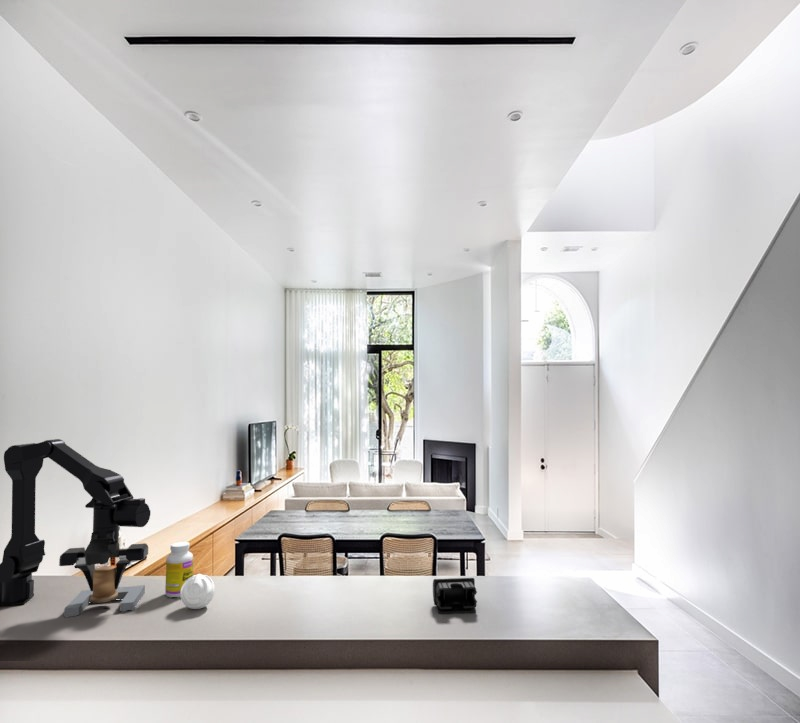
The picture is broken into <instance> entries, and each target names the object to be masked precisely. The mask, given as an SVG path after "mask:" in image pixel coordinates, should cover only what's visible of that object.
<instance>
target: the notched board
mask: <svg viewBox="0 0 800 723" xmlns="http://www.w3.org/2000/svg"><path fill="white" fill-rule="evenodd" d="M145 589H146V585H145V584H144V585H143V584H142V585H132V586H131V585H129V586H122V587H121V586H118V588H117V589H116V590H117V591H118V597H117V598H116V599H123V600H120V603H119V612H120V611H123V612H127V611H126V610H133V611H134V610H135V609H136V607H137V606H138V604H139V603H138V602H140V601H141V600H142V598H143V597H144V595H145V593H146V592H145V591H146V590H145ZM92 594H93V591H91V590H90V589H85V590H83V589H82V590H81V591H80V592H79V593H78V594H76V596H75V597H74V598H73V599H72V600H71V601H70V602H69V603H68V604H67V605H66V606H65V607H64V610H63V611H64V613H63V614H64V618H68V617H67V616H70V617H78V616H77V615H79V616H80V614H82V612H83V611H84V610H85V609H86V608H85V607H86V606H87V607H88V606H89V604H90V603H89V602H91V601H90V596H91V595H92ZM143 594H144V595H143ZM141 597H142V598H141ZM116 599H114V600H116ZM139 600H140V601H139ZM88 603H89V604H88ZM137 603H138V604H137ZM136 605H137V606H136ZM135 606H136V607H135ZM84 608H85V609H84ZM134 608H135V609H134ZM83 609H84V610H83Z"/></svg>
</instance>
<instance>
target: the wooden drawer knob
mask: <svg viewBox="0 0 800 723" xmlns="http://www.w3.org/2000/svg"><path fill="white" fill-rule="evenodd" d="M116 570H117V567H116V565H115V566H114V565H107V566H100V567H97V568H95V570H94V571H93V594H92V595H91V596H90V601H91V602H93V603H94V604H101V603H107V602H112V601H111V600H114V599H116V598H117V597H118V591H117V590H116V589H115V578H116ZM93 603H92V604H93Z"/></svg>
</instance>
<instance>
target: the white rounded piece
mask: <svg viewBox="0 0 800 723" xmlns="http://www.w3.org/2000/svg"><path fill="white" fill-rule="evenodd" d="M214 595H215V582H214V581H213V579H212V578H211V577H210V576H209V575H207V574H202V573H197V574H193V576H192V577H190V578H189V579H187V580H186V581H185V583H184V584H183V585H182V587H181V591H180V597H179V598H180V600H181V602H182V603H183V605H184V606H185V607H187V608H188V609H192V610H200V609H202V608H205V607H206V606H207V605H208V604H210V603H211V602H212V601H213V598H214Z"/></svg>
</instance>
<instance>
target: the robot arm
mask: <svg viewBox="0 0 800 723" xmlns="http://www.w3.org/2000/svg"><path fill="white" fill-rule="evenodd" d="M47 458H49V459H50V460H51V461H53V462H54V463H55V464H56V465H58V466H60V467H61V468H62V469H64V470H65V471H67V472H68V473H70V475H72V476H73V477H75V478H76V479H78V480H79V481H80V482H81V483H82V486H83V490H84V491H85V492H86V493H87V494H88V495H89V496H90V497H91V500H90V501H89V502H87V503H86V504H85V506H84V507H85V508H87V509H93V511H92V512H93V513H92V514H93V515H92V516H93V517H92V532H91V536H90V541H89V543H88V544H87V547H86V548H85V547H70V548H68V549H66V550H65V551H64V552H63V553H61V555H59V563H58V566H60V567H67V566H74V569H79V570H80V571H81V572H82V573H83V575H84V576H85V579H86V582H87V584H88V587H89V590H91V591H93V571H94V570H95V569H96V567H95V566H96V565H106V564H107V563H108V562H109V559H111V558H112V559H113V558H114V559H115V558H118V561H117V562H116V563H115V567H116V578H115V589H117V588H118V587H120V582H121V580H122V577H123V575H124V574H125V573H124V572H125V570H126V568H127V566H128V565H130V564H131V563H132V562H135V561H144V560H145V558H147V556H148V555H149V545H148V544H147V543H146V542H145V543H144V542H143V543H133V544H130V545H129V547H128V548H120V542H119V536H120V531H121V528H120V527H126V528H127V527H129V528H143V527H146V525H147V524H148V523H149V521H150V519H151V518H150V517H151V509H150V506H149V505H148V503H146V498H143V497H142V498H134V496H133V494H132V493H131V490H130V489H129V488H128V487H127V485H126V483H125V479H124V477H123V476H122V475H121V474H120V473H118V472H115V471H113V470H111V469H108V468H104V467H100V466H98V465H96V464H95V463H93V462H92V461H90V460H89V459H87V458H86V457H84V456H83V455H82V454H80V453H79V452H77V451H76V450H74V449H73V448H72V447H71V446H70V445H67V444H66V442H65V441H64V440H63V439H59V438H57V439H56V438H55V439H46V440H44V441H41V442H37V443H36V442H35V443H34V442H33V443H32V442H31V443H24V444H23V443H22V444H15V445H11V446H9V447H8V448H7V449H6V450H5V451H4V453H3V463H4V470H5V472H6V473H7V475H8V477H10V479H11V482H12V484H11V487H12V488H11V490H12V491H11V534H10V536H11V537H10V539H9V541H8V543H7V544H6V545H5V547H4V550H3V554H2V561H1V563H0V607H5V606H4V605H10V606H14V605H13V604H21V605H24V603H25V602H26V601H27V602H28V601H30V599H31V598H34V596H35V593H34V591H35V589H34V587H35V586H34V584H35V580H34V579H33V573H37V572H38V570H39V567H40V565H41V563H42V562H43V559H44V556H46V552H45V545H46V543H45V542H46V541H45V540H44V539H39V537H38V536H37V534H36V484H37V483H36V481H37V480H36V479H37V477H38V474H40V471H41V469H42V468H43V465H44V459H47ZM27 602H26V603H27ZM26 603H25V604H26Z"/></svg>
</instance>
